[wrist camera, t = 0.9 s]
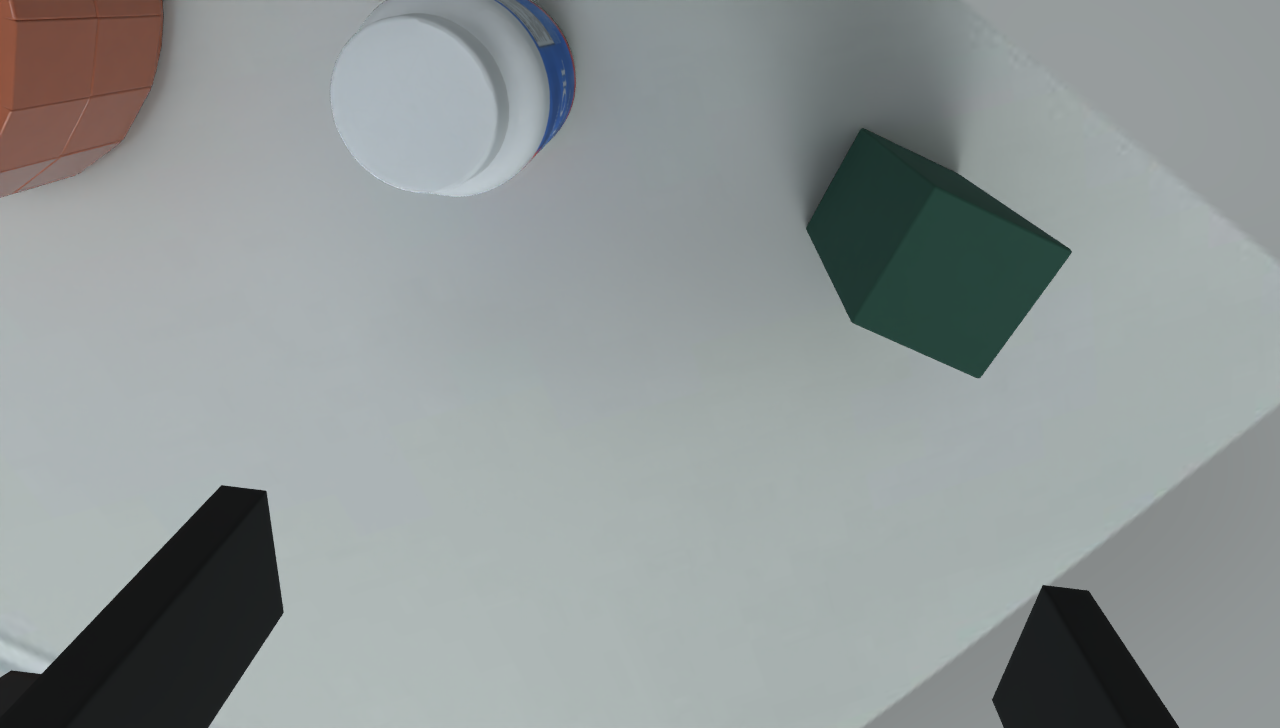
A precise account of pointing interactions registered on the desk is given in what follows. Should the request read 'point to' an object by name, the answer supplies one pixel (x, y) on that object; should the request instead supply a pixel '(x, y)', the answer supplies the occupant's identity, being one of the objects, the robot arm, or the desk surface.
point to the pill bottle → (452, 92)
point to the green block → (929, 255)
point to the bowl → (71, 83)
